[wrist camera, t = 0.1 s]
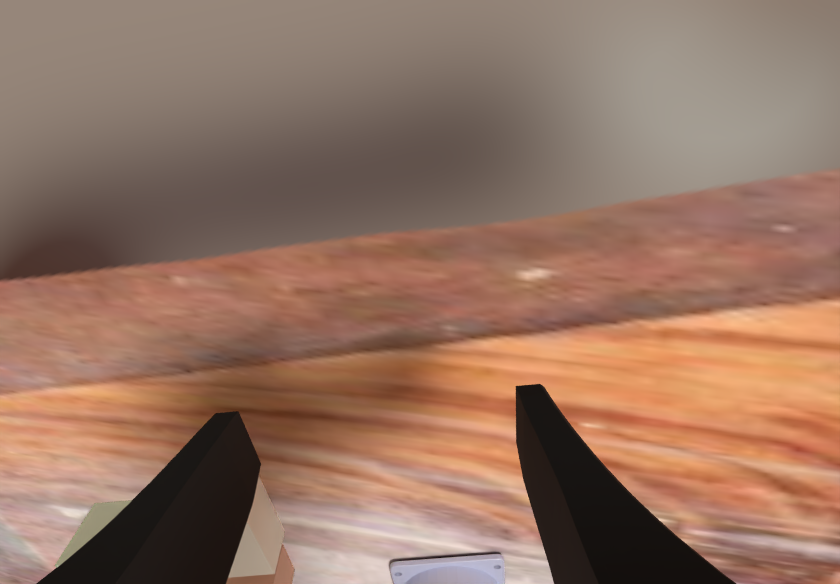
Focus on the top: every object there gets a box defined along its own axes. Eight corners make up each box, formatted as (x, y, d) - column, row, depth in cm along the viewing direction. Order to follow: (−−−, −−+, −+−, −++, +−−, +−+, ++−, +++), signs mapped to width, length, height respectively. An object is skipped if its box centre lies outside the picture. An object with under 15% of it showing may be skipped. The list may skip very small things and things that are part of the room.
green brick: (179, 551, 33) (152, 614, 30) (135, 554, 33) (103, 618, 30) (144, 497, 30) (109, 561, 26) (95, 501, 30) (54, 565, 27)
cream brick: (285, 528, 32) (274, 573, 29) (228, 533, 32) (212, 578, 30) (259, 470, 29) (244, 516, 26) (195, 476, 29) (174, 522, 26)
